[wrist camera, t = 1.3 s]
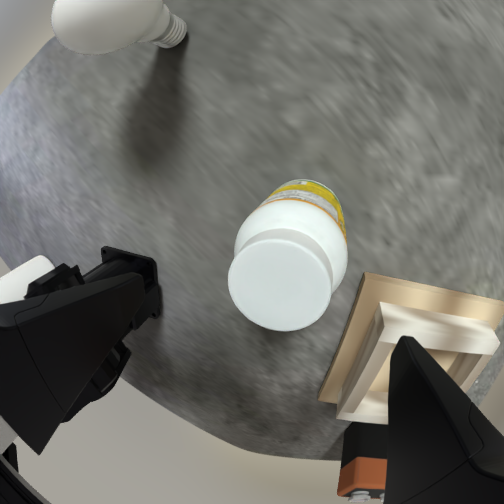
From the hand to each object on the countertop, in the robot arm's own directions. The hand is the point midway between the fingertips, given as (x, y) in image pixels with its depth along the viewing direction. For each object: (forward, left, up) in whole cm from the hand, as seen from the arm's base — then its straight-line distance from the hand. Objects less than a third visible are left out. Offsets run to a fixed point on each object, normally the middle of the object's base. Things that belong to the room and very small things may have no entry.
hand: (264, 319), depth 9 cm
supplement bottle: (0, 0, -12) cm, 12 cm away
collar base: (+12, -10, -12) cm, 19 cm away
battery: (+14, -22, -12) cm, 28 cm away
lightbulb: (-11, +13, -12) cm, 21 cm away
